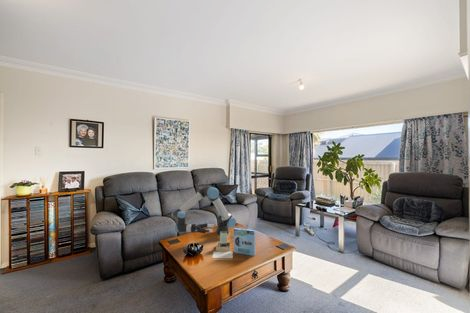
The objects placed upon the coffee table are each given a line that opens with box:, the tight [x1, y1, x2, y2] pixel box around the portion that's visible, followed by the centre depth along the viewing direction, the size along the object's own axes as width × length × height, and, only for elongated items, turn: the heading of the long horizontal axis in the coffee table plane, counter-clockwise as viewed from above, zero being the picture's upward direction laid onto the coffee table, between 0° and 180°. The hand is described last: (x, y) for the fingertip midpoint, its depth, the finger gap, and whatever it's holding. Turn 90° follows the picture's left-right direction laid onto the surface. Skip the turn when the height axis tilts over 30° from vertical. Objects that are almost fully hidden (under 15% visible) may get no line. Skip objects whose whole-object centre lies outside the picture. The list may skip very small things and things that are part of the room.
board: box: [211, 250, 234, 259], centre depth 188 cm, size 12×18×1 cm, turn 91°
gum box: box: [233, 226, 256, 257], centre depth 192 cm, size 20×5×23 cm, turn 72°
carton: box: [215, 241, 231, 252], centre depth 201 cm, size 12×13×14 cm
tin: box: [219, 231, 228, 247], centre depth 201 cm, size 5×6×16 cm
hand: (213, 228), depth 201 cm, fingers open, 13 cm apart
